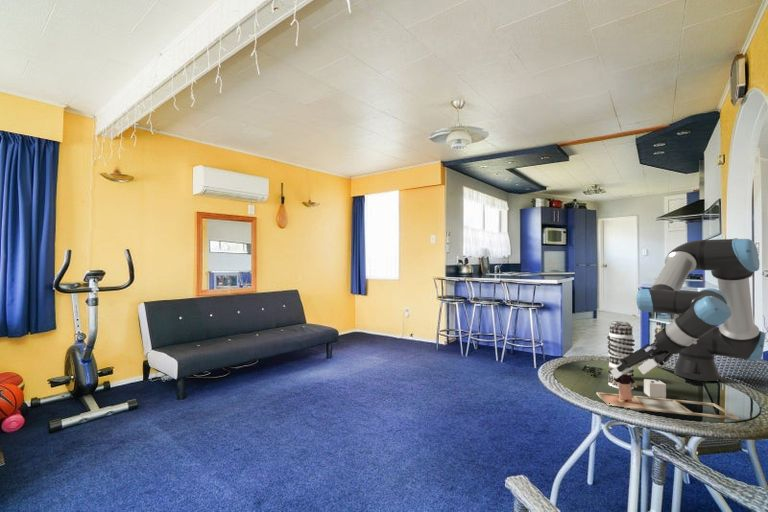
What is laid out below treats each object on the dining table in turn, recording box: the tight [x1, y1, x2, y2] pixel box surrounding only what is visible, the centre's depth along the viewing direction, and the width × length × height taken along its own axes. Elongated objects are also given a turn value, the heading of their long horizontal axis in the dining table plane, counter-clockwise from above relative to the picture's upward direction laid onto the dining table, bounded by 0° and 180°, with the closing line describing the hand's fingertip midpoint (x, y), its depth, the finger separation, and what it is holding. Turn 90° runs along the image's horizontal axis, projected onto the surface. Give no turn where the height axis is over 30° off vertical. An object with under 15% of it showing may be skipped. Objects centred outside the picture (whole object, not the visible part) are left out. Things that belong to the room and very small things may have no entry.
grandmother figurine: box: [612, 369, 638, 403], centre depth 127 cm, size 8×4×13 cm, turn 90°
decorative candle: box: [606, 320, 636, 390], centre depth 144 cm, size 9×9×25 cm
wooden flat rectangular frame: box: [596, 391, 741, 421], centre depth 124 cm, size 36×13×1 cm, turn 75°
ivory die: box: [643, 378, 667, 399], centre depth 134 cm, size 5×5×6 cm
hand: (627, 372), depth 125 cm, fingers open, 13 cm apart
